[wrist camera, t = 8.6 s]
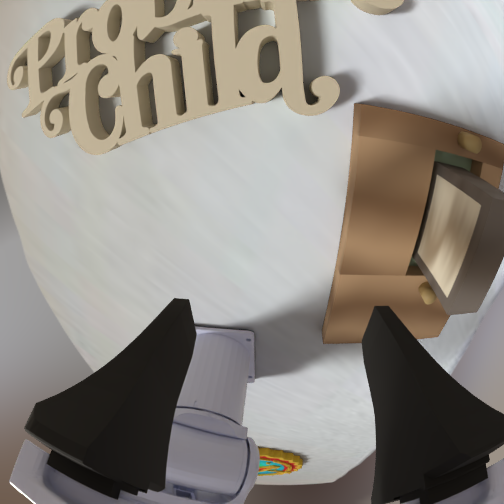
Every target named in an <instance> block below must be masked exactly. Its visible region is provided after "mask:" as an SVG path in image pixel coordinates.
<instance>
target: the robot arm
mask: <svg viewBox="0 0 504 504" xmlns="http://www.w3.org/2000/svg"><path fill="white" fill-rule="evenodd" d="M248 338H249V339H248ZM362 349H363V358H364V365H365V369H366V374H367V378H368V383H369V387H370V392H371V397H372V402H373V407H374V414H375V426H376V463H375V465H376V466H375V477H374V485H373V492H372V497H371V502H372V504H386V503H390V502H394V501H398V500H400V504H504V458H503V459H502V460H500V461H498V462H497V463H495V464H493V465H491V466H490V467H488V468H486V463H488V462H489V460H490V459H489V454H490V453H491V452H493V451H495V450H496V449H497V448H499V447H500V446H502V445H503V444H504V414H502V413H501V412H499V411H497V410H495V409H493V408H491V407H490V406H488V405H487V404H485V403H484V402H482V401H481V400H480V399H478V398H477V397H475V396H474V395H473V394H471V393H470V392H469V391H468V390H466V389H465V388H464V387H462V386H461V385H460V384H459V383H458V382H457V381H456V380H454V379H453V378H452V377H451V376H450V375H449V374H448V373H447V372H446V371H445V370H444V369H443V368H442V367H441V366H440V365H439V364H438V363H437V362H436V361H435V360H434V359H433V358H432V357H431V355H430V354H429V353H428V352H427V351H426V350H425V349H424V348H423V346H422V345H421V344H420V343H419V342H418V341H417V339H416V338H415V337H414V336H413V335H412V333H411V332H410V331H409V330H408V329H407V327H406V326H405V325H404V324H403V323H402V321H401V320H400V319H399V318H398V316H397V315H396V314H395V313H394V312H393V311H392V309H391V308H390V307H389V306H374V309H373V312H372V314H371V317H370V320H369V322H368V325H367V328H366V330H365V333H364V335H363V338H362ZM254 381H255V361H254V333H253V332H252V331H246V330H231V329H218V328H207V327H196V326H195V324H194V320H193V316H192V311H191V306H190V302H189V299H178V298H174V299H173V300H172V301H171V302H170V303H169V304H168V305H167V306H166V308H165V309H164V310H163V311H162V312H161V313H160V314H159V315H158V316H157V317H156V318H155V319H154V320H153V321H152V322H151V324H150V325H149V326H148V327H147V328H146V329H145V330H144V331H143V332H142V333H141V334H140V335H139V336H138V337H137V338H136V339H135V340H134V341H132V342H131V343H130V344H129V345H128V346H127V347H126V348H125V349H124V350H123V351H122V352H121V353H119V354H118V355H117V356H116V357H115V358H113V359H112V360H111V361H110V362H108V363H107V364H106V365H105V366H103V367H102V368H101V369H99V370H98V371H96V372H95V373H93V374H92V375H90V376H89V377H87V378H86V379H84V380H83V381H81V382H79V383H78V384H76V385H74V386H72V387H71V388H69V389H67V390H65V391H63V392H61V393H59V394H57V395H55V396H52V397H50V398H48V399H45V400H43V401H41V402H38V403H36V404H35V406H34V408H33V411H32V412H31V415H30V417H29V419H28V421H27V424H26V426H25V428H24V429H25V431H26V432H27V433H29V434H30V435H31V436H32V437H34V438H35V439H37V440H38V441H39V442H41V443H43V444H44V445H45V446H47V447H48V448H50V449H51V450H52V451H51V453H50V454H48V453H47V452H45V451H44V450H42V449H41V448H39V447H38V446H36V445H34V444H33V443H31V442H30V441H29V440H27V439H25V441H24V443H23V446H22V448H21V450H20V453H19V456H18V458H17V461H16V463H15V466H14V469H13V472H12V475H11V478H10V481H9V482H10V483H11V484H12V485H13V486H14V487H15V488H16V489H17V490H19V491H20V492H21V493H22V494H23V495H25V496H26V497H27V498H28V499H29V500H31V501H32V502H33V503H34V504H244V501H245V499H246V497H247V495H248V493H249V491H250V490H251V489H252V487H253V486H254V484H255V481H256V479H257V475H258V471H259V463H260V455H259V450H258V447H257V445H256V444H255V442H254V440H253V439H252V438H250V437H247V431H248V428H247V427H243V426H242V422H243V414H244V406H245V398H246V390H247V383H254Z"/></svg>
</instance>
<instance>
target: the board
mask: <svg viewBox="0 0 504 504" xmlns="http://www.w3.org/2000/svg"><path fill="white" fill-rule="evenodd" d="M434 161H436V162H441V163H445V164H450V165H454V166H458V167H462V168H464V169H466V170H468V171H470V172H471V173H473V174H475V175H477V176H478V177H480V178H482V179H483V180H485V181H486V182H488V183H490V184H491V185H493V186H494V187H496V188H497V189H499V184H500V180H501V175H502V170H503V164H504V144H502V143H500V142H498V141H495V140H493V139H490V138H488V137H485V136H483V135H480V134H477V133H475V132H472V131H469V130H466V129H463V128H460V127H457V126H454V125H451V124H448V123H445V122H441V121H438V120H434V119H431V118H427V117H423V116H419V115H415V114H411V113H407V112H402V111H397V110H393V109H388V108H382V107H377V106H371V105H365V104H357V103H354V117H353V134H352V147H351V159H350V169H349V179H348V187H347V196H346V204H345V211H344V218H343V225H342V231H341V238H340V244H339V250H338V256H337V261H336V267H335V272H334V277H333V282H332V287H331V292H330V297H329V302H328V306H327V311H326V315H325V319H324V324H323V328H322V338H323V344H340V343H362V338H363V335H364V333H365V330H366V328H367V325H368V322H369V320H370V317H371V314H372V312H373V309H374V306H389V307H390V308H391V309H392V311H393V312H394V313H395V314H396V315H397V316H398V318H399V319H400V320H401V321H402V323H403V324H404V325H405V326H406V327H407V329H408V330H409V331H410V332H411V333H412V335H413V336H414V337H415V338H416V339H424V338H433V337H438V336H439V334H440V332H441V331H442V329H443V327H444V326H445V324H446V322H447V320H448V318H449V317H450V315H447V314H446V312H445V310H444V308H443V306H442V304H441V303H440V301H439V299H438V297H437V296H436V294H435V292H434V291H433V289H432V287H431V286H430V284H429V282H428V281H427V279H426V277H425V276H424V274H423V272H422V271H421V269H420V268H419V266H418V265H417V263H416V262H415V260H414V259H413V257H412V254H413V250H414V247H415V244H416V240H417V237H418V233H419V229H420V226H421V222H422V218H423V214H424V210H425V205H426V201H427V196H428V192H429V187H430V181H431V176H432V170H433V164H434Z"/></svg>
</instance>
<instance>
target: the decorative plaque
mask: <svg viewBox="0 0 504 504" xmlns="http://www.w3.org/2000/svg"><path fill="white" fill-rule="evenodd" d="M258 450H259V455H260V463H259V471H258V475H257V476H264V475H282V474H284V473H289V474H290V473H292V471H298V469H301V468H302V463H303V459H300V456H295V455H293V453H285V452H283V451H282V450H271V449H269V448H258Z"/></svg>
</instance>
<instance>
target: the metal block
mask: <svg viewBox="0 0 504 504" xmlns="http://www.w3.org/2000/svg"><path fill="white" fill-rule="evenodd" d="M412 257H413V259H414V260H415V262H416V263H417V265H418V266H419V268H420V269H421V271H422V272H423V274H424V276H425V277H426V279H427V281H428V282H429V284H430V286H431V287H432V289H433V291H434V292H435V294H436V296H437V297H438V299H439V301H440V303H441V304H442V306H443V308H444V310H445V312H446V314H447V315H454V314H464V313H474V312H477V311H478V309H479V308H480V306H481V304H482V302H483V300H484V298H485V296H486V294H487V292H488V290H489V288H490V286H491V284H492V282H493V280H494V278H495V276H496V273H497V271H498V269H499V267H500V264H501V262H502V260H503V257H504V193H503V192H502V191H500V190H499V189H497V188H496V187H494V186H493V185H491V184H490V183H488V182H486V181H485V180H483V179H482V178H480V177H478V176H477V175H475V174H473V173H471V172H470V171H468V170H466V169H464V168H462V167H458V166H454V165H450V164H445V163H441V162H436V161H434V164H433V170H432V176H431V181H430V187H429V192H428V196H427V201H426V205H425V210H424V214H423V218H422V222H421V226H420V229H419V233H418V237H417V240H416V244H415V247H414V250H413V254H412Z"/></svg>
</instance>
